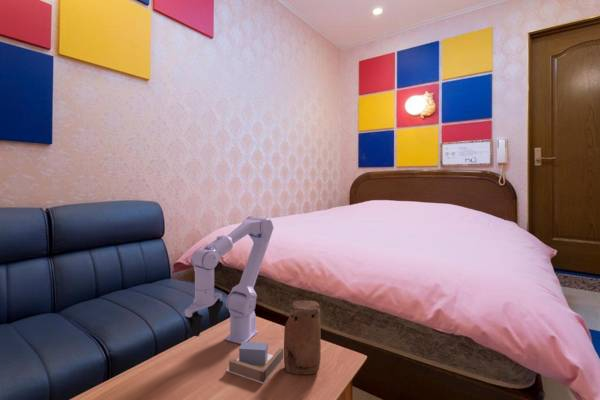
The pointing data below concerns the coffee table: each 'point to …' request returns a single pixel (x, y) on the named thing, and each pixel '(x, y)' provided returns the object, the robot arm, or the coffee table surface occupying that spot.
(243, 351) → the bar
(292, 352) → the brown tall cylinder
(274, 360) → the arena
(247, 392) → the coffee table surface
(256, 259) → the robot arm
